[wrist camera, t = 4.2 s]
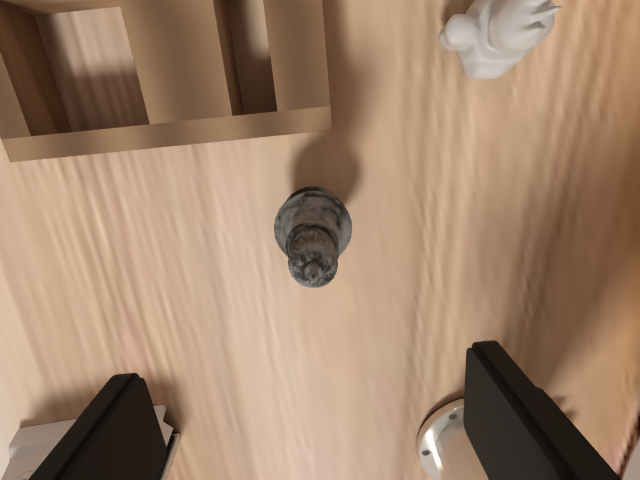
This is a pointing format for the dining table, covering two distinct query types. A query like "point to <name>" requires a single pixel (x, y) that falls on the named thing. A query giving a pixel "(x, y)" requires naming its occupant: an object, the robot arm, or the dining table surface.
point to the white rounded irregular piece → (497, 34)
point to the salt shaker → (313, 234)
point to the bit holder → (165, 77)
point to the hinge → (41, 439)
